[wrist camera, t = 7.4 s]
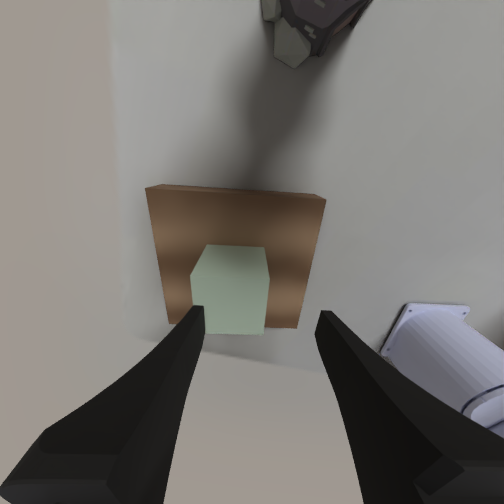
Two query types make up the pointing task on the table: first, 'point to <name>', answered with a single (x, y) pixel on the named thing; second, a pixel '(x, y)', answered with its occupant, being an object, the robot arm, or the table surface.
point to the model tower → (308, 25)
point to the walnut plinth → (235, 240)
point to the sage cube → (232, 289)
